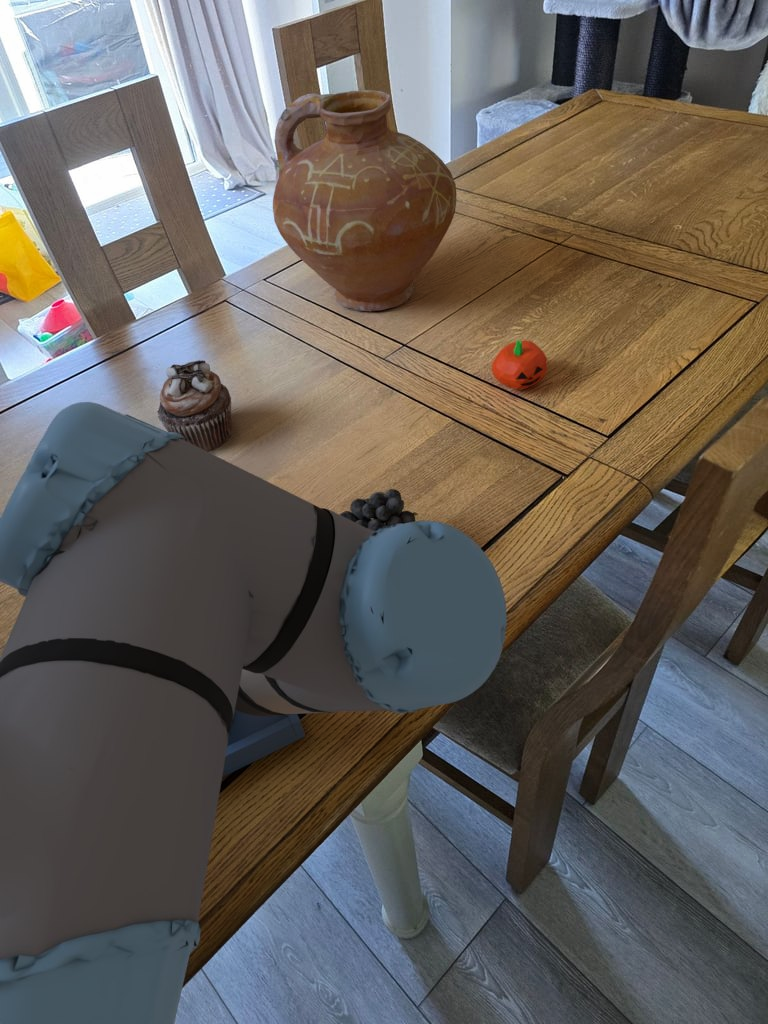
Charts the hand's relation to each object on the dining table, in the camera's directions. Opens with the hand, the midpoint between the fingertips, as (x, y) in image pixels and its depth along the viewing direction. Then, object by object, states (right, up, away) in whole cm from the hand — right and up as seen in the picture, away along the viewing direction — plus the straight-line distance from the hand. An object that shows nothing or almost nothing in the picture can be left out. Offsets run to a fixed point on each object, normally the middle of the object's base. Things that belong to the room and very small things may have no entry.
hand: (180, 672), depth 57 cm
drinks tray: (0, -6, +7) cm, 9 cm away
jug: (+15, +50, +61) cm, 80 cm away
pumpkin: (+35, +31, +40) cm, 62 cm away
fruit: (+14, +7, +18) cm, 24 cm away
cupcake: (-8, +24, +38) cm, 45 cm away
